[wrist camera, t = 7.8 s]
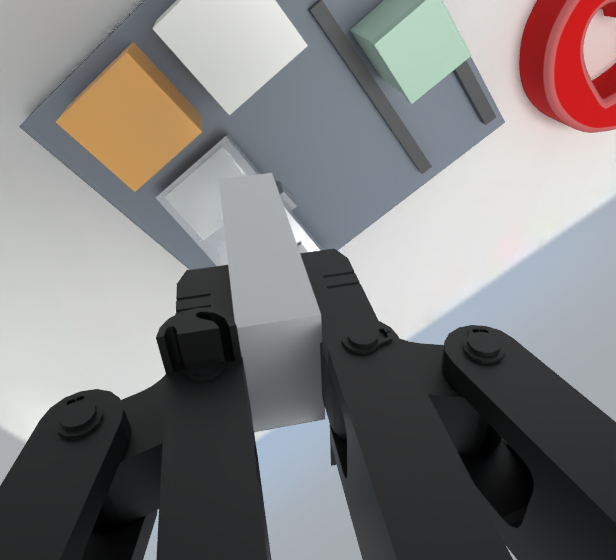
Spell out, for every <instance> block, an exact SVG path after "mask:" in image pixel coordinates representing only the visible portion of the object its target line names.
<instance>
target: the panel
mask: <svg viewBox="0 0 616 560" xmlns="http://www.w3.org/2000/svg"><path fill="white" fill-rule="evenodd" d="M175 1H176V0H145V1H144V2H143V3H142V4H141V5H140V6H139V7H138V8H137V9H136V10H135V11H134V12H133V13H132V14H131V15H130V16H129V17H128V18H127V19H126V20H125V21H124V22H123V23H122V24H121V25H120V26H119V27H118V28H117V29H116V30H115V31H114V32H113V33H112V34H111V35H110V36H109V37H108V38H107V39H106V40H105V41H104V42H103V43H102V44H101V45H100V46H99V47H98V48H97V49H96V50H95V51H94V52H93V53H92V54H91V55H90V56H89V57H88V58H87V59H86V60H85V61H84V62H83V63H82V64H81V65H80V66H79V67H78V68H77V69H76V70H75V71H74V72H73V73H72V74H71V75H70V76H69V77H68V78H67V79H66V80H65V81H64V82H63V83H62V84H61V85H60V86H59V87H58V88H57V89H56V90H55V91H54V92H53V93H52V94H51V95H50V96H49V97H48V98H47V99H46V100H45V101H44V102H43V103H42V104H41V105H40V106H39V107H38V108H37V109H36V110H35V111H34V112H33V113H32V114H31V115H30V116H29V117H28V118H27V119H26V120H25V121H24V122H23V123H22V124H21V125H20V126H19V127H20V128H21V129H23V130H24V131H25V132H26V133H27V134H29V135H30V136H31V137H32V138H33V139H35V140H36V141H37V142H38V143H39V144H40V145H42V146H43V147H44V148H45V149H46V150H48V151H49V152H50V153H51V154H52V155H54V156H55V157H56V158H57V159H58V160H60V161H61V162H62V163H63V164H64V165H66V166H67V167H68V168H69V169H70V170H71V171H73V172H74V173H75V174H76V175H77V176H79V177H80V178H81V179H82V180H83V181H85V182H86V183H87V184H88V185H89V186H91V187H92V188H93V189H94V190H95V191H96V192H98V193H99V194H100V195H101V196H102V197H104V198H105V199H106V200H107V201H108V202H110V203H111V204H112V205H113V206H114V207H116V208H117V209H118V210H119V211H120V212H122V213H123V214H124V215H125V216H126V217H127V218H129V219H130V220H131V221H132V222H133V223H135V224H136V225H137V226H138V227H139V228H141V229H142V230H143V231H144V232H145V233H147V234H148V235H149V236H150V237H151V238H152V239H154V240H155V241H156V242H157V243H158V244H160V245H161V246H162V247H163V248H164V249H166V250H167V251H168V252H169V253H170V254H172V255H173V256H174V257H175V258H176V259H178V260H179V261H180V262H181V263H182V264H183V265H185V266H186V267H187V268H188V269H189V270H193V269H200V268H207V267H215V266H216V264H215V263H214V262H213V261H212V260H211V259H210V258H209V257H208V256H207V254H206V253H205V252H204V251H203V250H202V249H201V248H200V247H199V246H198V244H197V243H196V242H195V241H194V240H193V239H192V238H191V237H190V236H189V234H188V233H187V232H186V231H185V230H184V229H183V228H182V227H181V226H180V224H179V223H178V222H177V221H176V220H175V219H174V218H173V217H172V216H171V215H170V213H169V212H168V211H167V210H166V209H165V208H164V207H163V206H162V205H161V203H160V202H159V201H158V200H157V199H156V197H157V196H158V195H159V194H160V193H161V192H163V191H164V190H165V189H166V188H167V187H168V186H169V185H171V184H172V183H173V182H174V181H175V180H176V179H177V178H179V177H180V176H181V175H182V174H183V173H184V172H185V171H187V170H188V169H189V168H190V167H191V166H192V165H193V164H194V163H196V162H197V161H198V160H199V159H200V158H201V157H202V156H204V155H205V154H206V153H207V152H208V151H209V150H210V149H212V148H213V147H214V146H215V145H216V144H217V143H218V142H220V141H221V140H222V139H223V138H224V137H225V136H228V135H229V136H230V137H231V138H232V140H233V141H234V142H235V143H236V144H237V146H238V147H239V148H240V149H241V150H242V152H243V153H244V154H245V155H246V156H247V158H248V159H249V160H250V161H251V163H252V164H253V165H254V166H255V167H256V169H257V170H258V171H259V172H260V173H261V174H266V173H272V174H273V177H274V180H275V182H276V185H277V188H278V191H279V194H280V197H281V199H282V200H283V201H284V202H285V204H286V205H287V206H288V207H289V209H290V210H291V211H292V212H293V213H294V215H295V216H296V217H297V218H298V219H299V221H300V222H301V223H302V224H303V225H304V227H305V228H306V229H307V230H308V232H309V233H310V234H311V235H312V236H313V238H314V239H315V240H316V241H317V242H318V244H319V245H320V246H321V247H322V248H323V250H327V249H336V250H339V249H340V248H341V247H343V246H344V245H345V244H347V243H348V242H349V241H351V240H352V239H353V238H354V237H356V236H357V235H358V234H360V233H361V232H362V231H364V230H365V229H366V228H368V227H369V226H370V225H371V224H373V223H374V222H375V221H377V220H378V219H379V218H381V217H382V216H383V215H385V214H386V213H387V212H388V211H390V210H391V209H392V208H394V207H395V206H396V205H398V204H399V203H400V202H402V201H403V200H404V199H405V198H407V197H408V196H409V195H411V194H412V193H413V192H415V191H416V190H417V189H419V188H420V187H421V186H422V185H424V184H425V183H426V182H428V181H429V180H430V179H432V178H433V177H434V176H435V175H437V174H438V173H439V172H441V171H442V170H443V169H445V168H446V167H447V166H449V165H450V164H451V163H452V162H454V161H455V160H456V159H458V158H459V157H460V156H462V155H463V154H464V153H466V152H467V151H468V150H469V149H471V148H472V147H473V146H475V145H476V144H477V143H479V142H480V141H481V140H483V139H484V138H485V137H486V136H488V135H489V134H490V133H492V132H493V131H494V130H496V129H497V128H498V127H500V126H501V125H502V124H503V123H505V121H504V119H503V117H502V115H501V114H500V112H499V110H498V108H497V106H496V104H495V102H494V100H493V98H492V96H491V94H490V92H489V91H488V89H487V87H486V85H485V83H484V81H483V79H482V77H481V75H480V73H479V71H478V69H477V67H476V66H475V64H474V62H473V60H472V58H471V56H470V57H469V58H468V59H467V60H466V61H464V62H463V63H462V64H461V65H459V66H458V67H457V68H456V69H454V70H453V71H452V72H451V73H450V74H448V75H447V76H446V77H445V78H443V79H442V80H441V81H440V82H438V83H437V84H436V85H435V86H434V87H432V88H431V89H430V90H429V91H427V92H426V93H425V94H424V95H422V96H421V97H420V98H419V99H417V100H416V101H415V102H414V103H413V104H411V103H410V102H408V101H407V100H406V98H405V97H404V95H403V94H402V93H401V92H399V91H398V90H396V89H395V88H394V87H392V86H391V85H389V84H388V83H387V82H385V81H384V80H382V79H381V77H380V76H379V74H378V73H377V71H376V69H375V68H374V66H373V65H372V63H371V62H370V60H369V59H368V57H367V56H366V54H365V53H364V51H363V49H362V48H361V46H360V45H359V43H358V42H357V40H356V39H355V37H354V36H353V34H352V33H351V31H350V29H352V28H353V27H354V26H355V25H356V24H357V23H358V22H360V21H361V20H362V19H363V18H364V17H365V16H366V15H368V14H369V13H370V12H371V11H372V10H373V9H374V8H376V7H377V6H378V5H379V4H380V3H381V2H382V1H384V0H276V2H277V3H278V5H279V6H280V7H281V9H282V10H283V12H284V13H285V14H286V16H287V17H288V19H289V20H290V21H291V23H292V24H293V26H294V27H295V28H296V30H297V31H298V33H299V34H300V35H301V37H302V38H303V40H304V41H305V42H306V44H307V45H308V46H307V47H306V48H305V49H304V50H303V51H301V52H300V53H299V54H298V55H297V56H296V57H295V58H294V59H292V60H291V61H290V62H289V63H288V64H287V65H286V66H285V67H283V68H282V69H281V70H280V71H279V72H278V73H277V74H276V75H274V76H273V77H272V78H271V79H270V80H269V81H268V82H267V83H265V84H264V85H263V86H262V87H261V88H260V89H259V90H258V91H256V92H255V93H254V94H253V95H252V96H251V97H250V98H249V99H247V100H246V101H245V102H244V103H243V104H242V105H241V106H240V107H238V108H237V109H236V110H235V111H234V112H233V113H232V114H231V115H229V114H228V113H227V112H226V111H225V110H224V109H223V108H222V106H221V105H220V104H219V103H218V102H217V101H216V100H215V99H214V97H213V96H212V95H211V94H210V93H209V92H208V91H207V90H206V88H205V87H204V86H203V85H202V84H201V83H200V82H199V81H198V79H197V78H196V77H195V76H194V75H193V74H192V73H191V72H190V70H189V69H188V68H187V67H186V66H185V65H184V64H183V63H182V61H181V60H180V59H179V58H178V57H177V56H176V55H175V54H174V52H173V51H172V50H171V49H170V48H169V47H168V46H167V45H166V44H165V42H164V41H163V40H162V39H161V38H160V37H159V36H158V35H157V33H156V32H155V31H154V30H153V29H152V28H153V26H154V24H155V22H156V20H157V19H158V18H159V17H160V16H161V15H162V14H163V13H164V12H165V11H166V10H167V9H168V8H169V7H170V6H171V5H172V4H173V3H174V2H175ZM132 42H134V43H135V44H136V45H137V46H138V47H139V48H140V49H141V51H142V52H143V53H144V54H145V55H146V56H147V57H148V58H149V59H150V60H151V61H152V62H153V63H154V65H155V66H156V67H157V68H158V69H159V70H160V71H161V72H162V73H163V74H164V75H165V76H166V78H167V79H168V80H169V81H170V82H171V83H172V84H173V85H174V86H175V87H176V88H177V89H178V90H179V92H180V93H181V94H182V95H183V96H184V97H185V98H186V99H187V100H188V101H189V102H190V103H191V104H192V106H193V107H194V108H195V109H196V110H197V111H198V112H199V113H200V114H201V116H202V133H201V134H199V135H198V136H197V137H196V138H195V139H194V140H193V141H192V142H190V143H189V144H188V145H187V146H186V147H185V148H184V149H183V150H182V151H180V152H179V153H178V154H177V155H176V156H175V157H174V158H173V159H171V160H170V161H169V162H168V163H167V164H166V165H165V166H164V167H162V168H161V169H160V170H159V171H158V172H157V173H156V174H155V175H154V176H152V177H151V178H150V179H149V180H148V181H147V182H146V183H145V184H143V185H142V186H141V187H140V188H139V189H138V190H137V191H136V192H134V191H133V190H132V189H131V188H130V187H129V186H127V185H126V184H125V183H124V182H123V181H122V180H121V179H119V178H118V177H117V176H116V175H115V174H114V173H113V172H111V171H110V170H109V169H108V168H107V167H106V166H105V165H104V164H102V163H101V162H100V161H99V160H98V159H97V158H96V157H94V156H93V155H92V154H91V153H90V152H89V151H88V150H87V149H85V148H84V147H83V146H82V145H81V144H80V143H79V142H77V141H76V140H75V139H74V138H73V137H72V136H71V135H69V134H68V133H67V132H66V131H65V130H64V129H63V128H62V127H60V126H59V125H58V124H57V123H56V121H57V119H58V118H59V117H60V116H61V114H62V113H63V112H64V110H65V109H66V108H67V107H68V105H69V104H70V103H71V102H72V101H73V100H74V99H75V98H76V97H77V96H78V95H79V94H80V93H81V92H82V91H83V90H84V89H85V88H87V87H88V86H89V85H90V84H91V83H92V82H93V81H94V80H95V79H96V78H97V77H98V76H99V75H100V74H101V73H102V72H103V71H104V70H105V69H106V68H107V67H108V66H109V65H110V64H111V63H112V62H113V61H114V60H115V59H116V58H117V57H118V56H119V55H120V54H121V53H122V52H123V51H124V50H125V49H126V48H127V47H128V46H129V45H130V44H131V43H132Z"/></svg>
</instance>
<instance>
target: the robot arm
mask: <svg viewBox="0 0 616 560" xmlns="http://www.w3.org/2000/svg"><path fill="white" fill-rule="evenodd" d="M218 180H219V189H220V198H221V206H222V215H223V224H224V232H225V241H226V250H227V259H228V265H222V266H215V267H207V268H200V269H193V270H186V272H185V273H184V275H183V276H182V278H181V279H180V280H179V282H178V283H177V297H176V299H177V301H176V315H175V316H173V317H171V318H169V319H168V320H167V321H166V322H165V323H164V324H163V325H162V326H161V327H160V329H159V331H158V334H157V336H156V340H157V343H158V347H159V350H160V354H161V357H162V361H163V365H164V368H165V372H166V375H165V376H164V377H163V378H162V379H161V380H160V381H158V382H157V383H156V384H154V385H153V386H151V387H149V388H148V389H146V390H144V391H142V392H139V393H137V394H135V395H132V396H130V397H127V398H125V399H123V400H120V398H119V397H117V396H116V395H115V394H113V393H112V392H110V391H104V390H99V389H94V390H87V391H81V392H78V393H76V394H73V395H71V396H68V397H65V398H64V399H62V400H61V401H60V402H58V403H57V404H55V405H54V406H52V407H51V408H50V409H49V410H48V411H47V413H46V414H45V415H44V416H43V417H42V418H41V420H40V421H39V423H38V425H37V426H36V428H35V429H34V431H33V433H32V434H31V436H30V438H29V439H28V441H27V443H26V444H25V446H24V448H23V449H22V451H21V453H20V454H19V456H18V458H17V459H16V461H15V463H14V464H13V466H12V468H11V469H10V471H9V472H8V474H7V476H6V477H5V479H4V481H3V482H2V484H1V486H0V560H143V558H144V555H145V551H146V548H147V545H148V542H149V538H150V535H151V532H152V529H153V525H154V522H155V519H156V516H157V509H159V523H158V542H157V560H271V554H270V547H269V539H268V532H267V524H266V516H265V509H264V502H263V493H262V486H261V478H260V471H259V463H258V456H257V449H256V443H255V436H254V432H258V431H263V430H269V429H274V428H280V427H285V426H290V425H296V424H301V423H307V422H312V421H318V420H323V419H325V408H326V412H327V415H328V419H329V422H330V445H331V465H336V464H337V467H338V471H339V475H340V478H341V481H342V486H343V489H344V493H345V497H346V500H347V504H348V508H349V511H350V515H351V519H352V522H353V526H354V530H355V533H356V537H357V540H358V544H359V548H360V551H361V555H362V559H363V560H513V559H512V557H511V555H510V553H509V551H508V549H507V547H508V548H509V550H510V551H511V552H512V554H513V555H514V556H515V557H516V558H517V560H616V422H615V421H614V420H612V419H611V418H610V417H609V416H608V415H606V414H605V413H604V412H603V411H601V410H600V409H599V408H598V407H596V406H595V405H594V404H593V403H592V402H590V401H589V400H588V399H587V398H586V397H584V396H583V395H582V394H580V393H579V392H578V391H577V390H576V389H574V388H573V387H572V386H571V385H569V384H568V383H567V382H566V381H565V380H563V379H562V378H561V377H560V376H559V375H557V374H556V373H555V372H554V371H552V370H551V369H550V368H549V367H548V366H546V365H545V364H544V363H543V362H541V361H540V360H539V359H538V358H537V357H535V356H534V355H533V354H532V353H530V352H529V351H528V350H527V349H526V348H524V347H523V346H522V345H521V344H519V343H518V342H517V341H516V340H515V339H513V338H512V337H510V336H508V335H507V334H505V333H504V332H502V331H500V330H497V329H493V328H490V327H487V326H476V325H470V326H465V327H460V328H458V329H456V330H454V331H453V332H451V333H449V335H448V337H447V338H446V340H445V342H444V345H434V344H420V343H414V342H408V341H405V340H402V339H399V337H398V335H397V334H396V333H395V332H394V331H393V329H392V328H391V327H389V326H387V325H385V324H384V323H382V322H380V321H378V319H377V317H376V315H375V313H374V311H373V309H372V307H371V304H370V302H369V300H368V298H367V296H366V294H365V292H364V290H363V288H362V286H361V284H359V280H358V278H357V276H356V274H354V270H353V268H352V266H351V264H350V262H349V259H348V258H347V257H345V256H344V255H343V254H341V253H340V252H338V251H337V250H336V249H327V250H319V251H312V252H305V253H300V252H299V249H298V246H297V243H296V240H295V237H294V235H293V232H292V229H291V226H290V223H289V220H288V217H287V214H286V211H285V209H284V206H283V203H282V200H281V197H280V194H279V191H278V188H277V185H276V182H275V180H274V177H273V174H272V173H266V174H258V175H249V176H240V177H232V178H223V179H218ZM506 546H507V547H506Z"/></svg>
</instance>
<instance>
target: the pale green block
mask: <svg viewBox="0 0 616 560" xmlns="http://www.w3.org/2000/svg"><path fill="white" fill-rule="evenodd" d="M350 31H351V33H352V34H353V36H354V37H355V39H356V40H357V42H358V43H359V45H360V46H361V48H362V49H363V51H364V53H365V54H366V56H367V57H368V59H369V60H370V62H371V63H372V65H373V66H374V68H375V69H376V71H377V73H378V74H379V76H380V77H381V79H382V80H384V81H385V82H387V83H388V84H389V85H391V86H392V87H394V88H395V89H396V90H398V91H399V92H401V93H402V94H403V95H404V97H405V98H406V100H407V101H408V102H410V103H411V104H413V103H414V102H415V101H416V100H417V99H419V98H420V97H421V96H422V95H424V94H425V93H426V92H427V91H429V90H430V89H431V88H432V87H434V86H435V85H436V84H437V83H438V82H440V81H441V80H442V79H443V78H445V77H446V76H447V75H448V74H450V73H451V72H452V71H453V70H454V69H456V68H457V67H458V66H459V65H461V64H462V63H463V62H464V61H466V60H467V59H468V58H469V57H470V56H471V54H470V52H469V50H468V48H467V46H466V44H465V42H464V41H463V39H462V37H461V35H460V33H459V31H458V29H457V27H456V25H455V23H454V21H453V19H452V17H451V16H450V14H449V12H448V10H447V8H446V6H445V4H444V2H443V0H384V1H382V2H381V3H380V4H379V5H378V6H377V7H376V8H374V9H373V10H372V11H371V12H370V13H369V14H368V15H366V16H365V17H364V18H363V19H362V20H361V21H360V22H358V23H357V24H356V25H355V26H354V27H353V28H352V29H350Z"/></svg>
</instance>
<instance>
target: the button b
mask: <svg viewBox="0 0 616 560" xmlns="http://www.w3.org/2000/svg"><path fill="white" fill-rule="evenodd" d="M152 29H153V30H154V31H155V32H156V33H157V35H158V36H159V37H160V38H161V39H162V40H163V41H164V42H165V44H166V45H167V46H168V47H169V48H170V49H171V50H172V51H173V52H174V54H175V55H176V56H177V57H178V58H179V59H180V60H181V61H182V63H183V64H184V65H185V66H186V67H187V68H188V69H189V70H190V72H191V73H192V74H193V75H194V76H195V77H196V78H197V79H198V81H199V82H200V83H201V84H202V85H203V86H204V87H205V88H206V90H207V91H208V92H209V93H210V94H211V95H212V96H213V97H214V99H215V100H216V101H217V102H218V103H219V104H220V105H221V106H222V108H223V109H224V110H225V111H226V112H227V113H228V114H229V115H231V114H232V113H233V112H234V111H235V110H236V109H237V108H238V107H240V106H241V105H242V104H243V103H244V102H245V101H246V100H247V99H249V98H250V97H251V96H252V95H253V94H254V93H255V92H256V91H258V90H259V89H260V88H261V87H262V86H263V85H264V84H265V83H267V82H268V81H269V80H270V79H271V78H272V77H273V76H274V75H276V74H277V73H278V72H279V71H280V70H281V69H282V68H283V67H285V66H286V65H287V64H288V63H289V62H290V61H291V60H292V59H294V58H295V57H296V56H297V55H298V54H299V53H300V52H301V51H303V50H304V49H305V48H306V47H307V46H308V45H307V44H306V42H305V41H304V40H303V38H302V37H301V35H300V34H299V33H298V31H297V30H296V28H295V27H294V26H293V24H292V23H291V21H290V20H289V19H288V17H287V16H286V14H285V13H284V12H283V10H282V9H281V7H280V6H279V5H278V3H277V2H276V0H176V1H175V2H174V3H173V4H172V5H171V6H170V7H169V8H168V9H167V10H166V11H165V12H164V13H163V14H162V15H161V16H160V17H159V18H158V19H157V20H156V22H155V24H154V26H153V28H152Z"/></svg>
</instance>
